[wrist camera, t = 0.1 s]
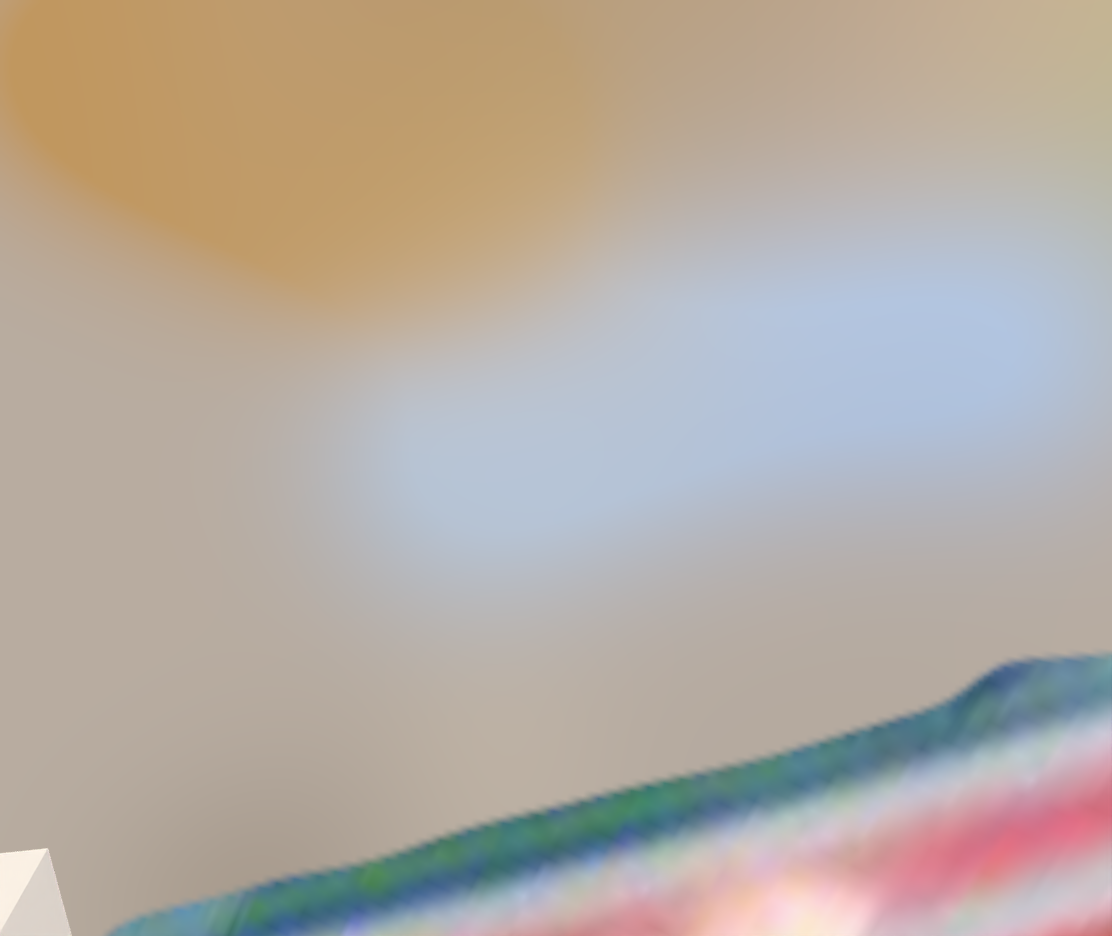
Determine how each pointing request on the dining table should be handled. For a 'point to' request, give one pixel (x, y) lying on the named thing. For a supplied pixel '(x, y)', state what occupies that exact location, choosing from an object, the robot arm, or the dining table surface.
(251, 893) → the dining table surface
